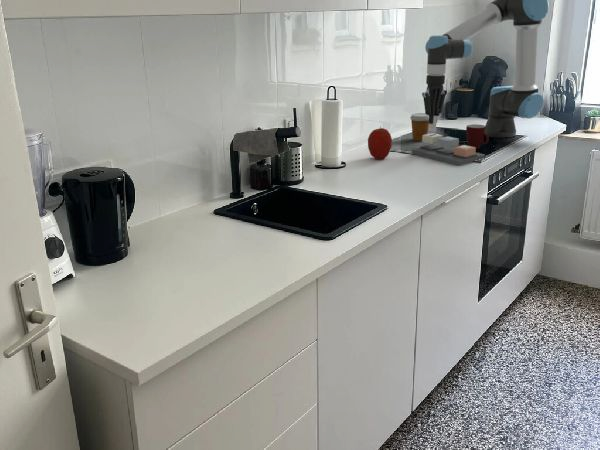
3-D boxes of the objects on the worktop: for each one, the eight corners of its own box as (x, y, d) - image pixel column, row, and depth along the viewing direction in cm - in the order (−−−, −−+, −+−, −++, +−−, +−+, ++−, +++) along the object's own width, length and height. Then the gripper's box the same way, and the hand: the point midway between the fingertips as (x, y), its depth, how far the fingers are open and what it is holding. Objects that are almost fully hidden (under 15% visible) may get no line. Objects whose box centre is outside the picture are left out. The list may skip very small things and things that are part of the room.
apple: (375, 154, 257) (376, 122, 253) (396, 157, 252) (397, 125, 247) (362, 159, 250) (363, 126, 245) (383, 162, 244) (384, 129, 239)
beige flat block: (463, 151, 247) (464, 144, 246) (475, 154, 242) (475, 146, 241) (453, 154, 244) (454, 146, 243) (465, 156, 239) (465, 149, 238)
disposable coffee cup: (420, 143, 275) (422, 117, 271) (405, 140, 282) (406, 114, 278) (434, 140, 281) (435, 114, 277) (418, 136, 288) (419, 112, 284)
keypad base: (437, 148, 265) (437, 142, 264) (484, 159, 245) (485, 153, 244) (411, 153, 257) (412, 148, 256) (458, 165, 237) (458, 159, 236)
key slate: (447, 143, 253) (448, 135, 252) (458, 145, 249) (459, 138, 247) (437, 145, 250) (438, 137, 249) (448, 147, 245) (449, 140, 244)
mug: (492, 148, 262) (494, 126, 258) (484, 152, 256) (486, 129, 253) (469, 145, 268) (471, 123, 265) (461, 149, 263) (463, 126, 259)
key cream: (431, 139, 260) (432, 132, 259) (442, 142, 256) (442, 134, 254) (422, 141, 257) (422, 134, 256) (432, 144, 252) (432, 136, 251)
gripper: (439, 72, 253) (436, 127, 261) (418, 75, 246) (415, 131, 254) (453, 74, 247) (449, 130, 255) (431, 76, 240) (428, 134, 248)
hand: (432, 130), depth 254 cm, fingers closed
